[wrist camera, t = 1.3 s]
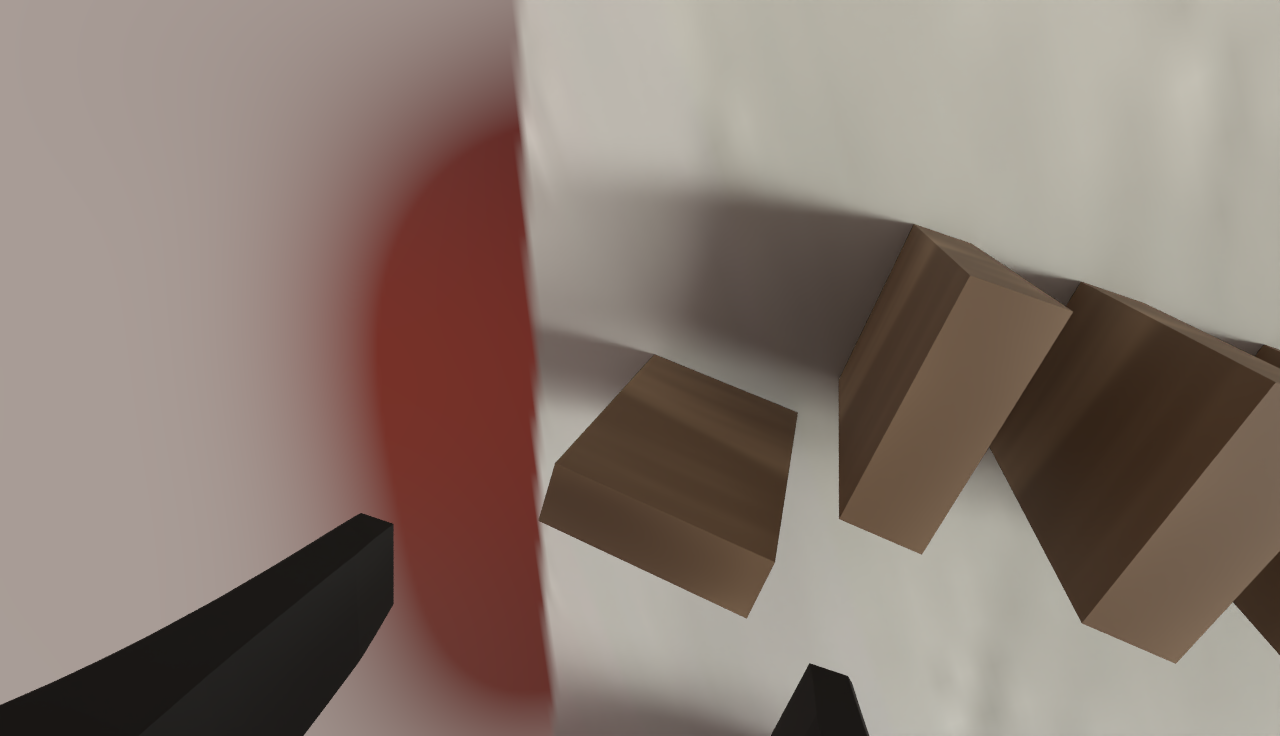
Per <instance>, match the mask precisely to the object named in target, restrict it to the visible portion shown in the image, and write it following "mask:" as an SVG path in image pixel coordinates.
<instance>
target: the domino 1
mask: <svg viewBox="0 0 1280 736" xmlns="http://www.w3.org/2000/svg"><path fill="white" fill-rule="evenodd" d="M797 414H798V413H797V412H795V411H792V410H790V409H787V408H785V407H782V406H780V405H778V404H775V403H773V402H770V401H768V400H765V399H763V398H760V397H758V396H755V395H753V394H750V393H748V392H746V391H743V390H741V389H738V388H736V387H733V386H731V385H728V384H726V383H723V382H721V381H719V380H716V379H714V378H711V377H709V376H706V375H704V374H701V373H699V372H696V371H694V370H692V369H689V368H687V367H684V366H682V365H679V364H677V363H674V362H672V361H669V360H667V359H664V358H662V357H660V356H657V355H655V354H654V356H653V357H652V358H651V359H650V360H649V361H648V362H647V363H646V364H645V365H644V367H643V368H642V369H641V370H640V371H639V372H638V373H637V374H636V375H635V376H634V377H633V379H632V380H631V381H630V382H629V383H628V384H627V385H626V386H625V387H624V388H623V390H622V391H621V392H620V393H619V394H618V395H617V396H616V397H615V398H614V399H613V400H612V402H611V403H610V404H609V405H608V406H607V407H606V408H605V409H604V410H603V411H602V412H601V414H600V415H599V416H598V417H597V418H596V419H595V420H594V421H593V422H592V423H591V425H590V426H589V427H588V428H587V429H586V430H585V431H584V432H583V433H582V434H581V435H580V437H579V438H578V439H577V440H576V441H575V442H574V443H573V444H572V445H571V446H570V448H569V449H568V450H567V451H566V452H565V453H564V454H563V455H562V456H561V457H560V458H559V460H558V461H557V462H556V463H555V466H554V469H553V473H552V476H551V479H550V483H549V486H548V490H547V493H546V497H545V500H544V503H543V507H542V510H541V514H540V517H539V521H540V522H542V523H545V524H547V525H549V526H551V527H553V528H555V529H557V530H559V531H562V532H564V533H566V534H568V535H570V536H572V537H574V538H577V539H579V540H581V541H583V542H585V543H587V544H589V545H591V546H594V547H596V548H598V549H600V550H602V551H604V552H606V553H608V554H611V555H613V556H615V557H617V558H619V559H621V560H623V561H625V562H628V563H630V564H632V565H634V566H636V567H638V568H640V569H642V570H645V571H647V572H649V573H651V574H653V575H655V576H657V577H660V578H662V579H664V580H666V581H668V582H670V583H672V584H674V585H677V586H679V587H681V588H683V589H685V590H687V591H689V592H691V593H694V594H696V595H698V596H700V597H702V598H704V599H706V600H708V601H711V602H713V603H715V604H717V605H719V606H721V607H723V608H726V609H728V610H730V611H732V612H734V613H736V614H738V615H740V616H743V617H745V618H747V617H748V615H749V613H750V611H751V609H752V607H753V605H754V603H755V601H756V599H757V597H758V595H759V593H760V591H761V589H762V587H763V585H764V583H765V581H766V579H767V577H768V575H769V573H770V571H771V569H772V567H773V565H774V563H775V558H776V552H777V545H778V539H779V532H780V526H781V519H782V513H783V506H784V499H785V493H786V486H787V480H788V473H789V467H790V460H791V454H792V447H793V441H794V434H795V428H796V421H797Z"/></svg>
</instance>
